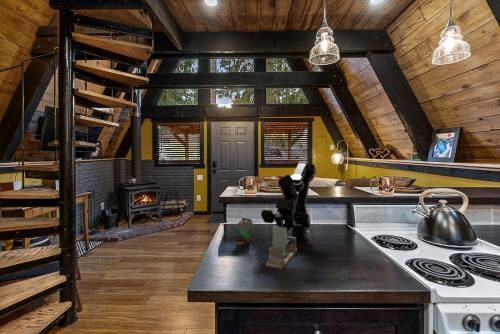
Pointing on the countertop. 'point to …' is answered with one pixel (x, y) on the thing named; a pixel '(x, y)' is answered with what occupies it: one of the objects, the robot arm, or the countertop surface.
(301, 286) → the countertop surface
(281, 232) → the grey-green notched block
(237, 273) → the countertop surface
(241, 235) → the food container
